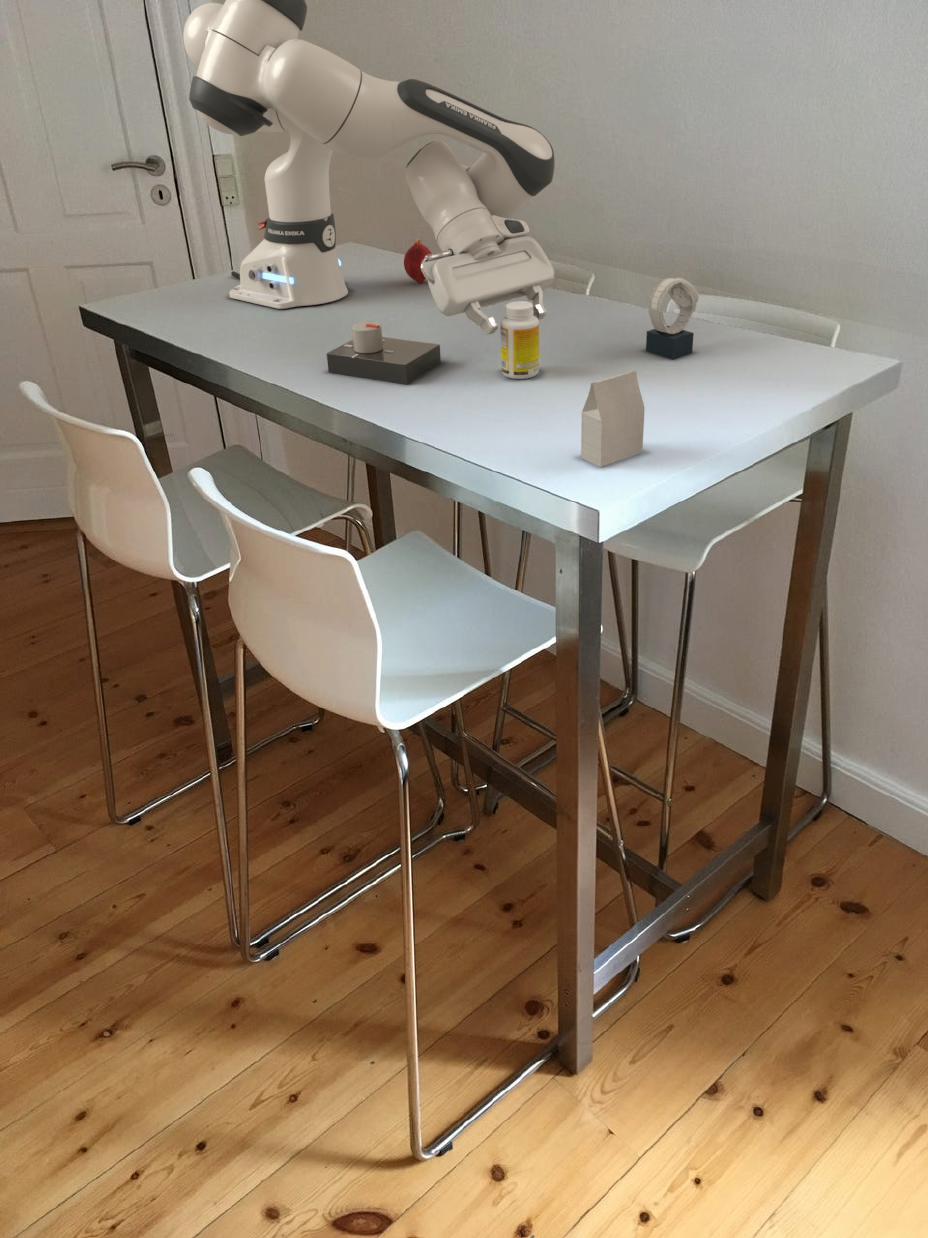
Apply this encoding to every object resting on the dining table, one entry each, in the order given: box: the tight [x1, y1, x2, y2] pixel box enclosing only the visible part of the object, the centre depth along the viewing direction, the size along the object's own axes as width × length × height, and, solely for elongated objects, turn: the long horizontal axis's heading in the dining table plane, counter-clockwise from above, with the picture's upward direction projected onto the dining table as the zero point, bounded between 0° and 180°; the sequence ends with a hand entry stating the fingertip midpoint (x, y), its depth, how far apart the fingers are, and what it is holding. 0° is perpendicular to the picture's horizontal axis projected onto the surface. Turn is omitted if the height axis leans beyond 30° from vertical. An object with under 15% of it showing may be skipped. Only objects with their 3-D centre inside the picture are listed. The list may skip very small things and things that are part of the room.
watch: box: [645, 277, 700, 360], centre depth 164 cm, size 6×8×11 cm
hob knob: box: [351, 321, 383, 353], centre depth 163 cm, size 4×4×4 cm
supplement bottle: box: [499, 300, 540, 380], centre depth 158 cm, size 6×6×10 cm
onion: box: [403, 238, 433, 284], centre depth 204 cm, size 6×6×8 cm
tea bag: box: [580, 370, 646, 468], centre depth 131 cm, size 4×7×10 cm, turn 124°
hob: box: [326, 336, 442, 385], centre depth 164 cm, size 14×10×3 cm
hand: (517, 324), depth 158 cm, fingers open, 8 cm apart
